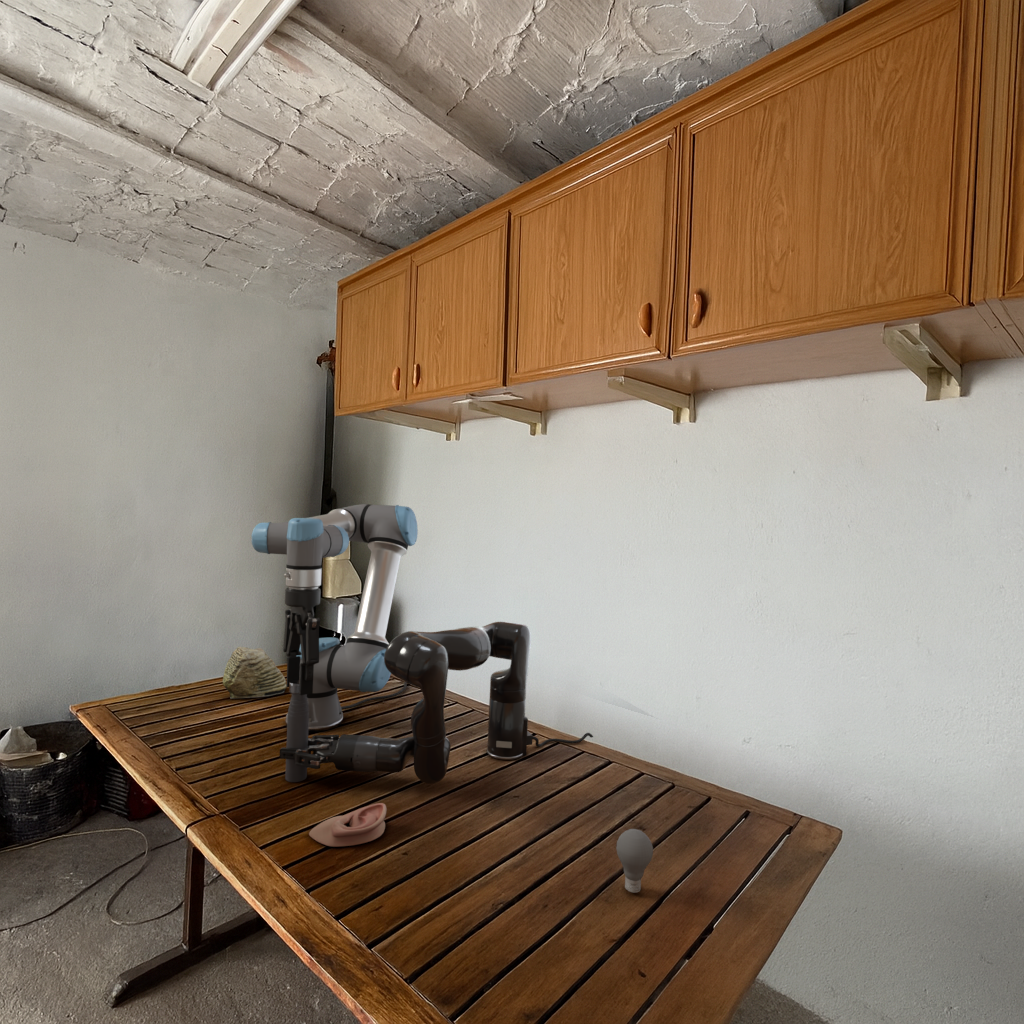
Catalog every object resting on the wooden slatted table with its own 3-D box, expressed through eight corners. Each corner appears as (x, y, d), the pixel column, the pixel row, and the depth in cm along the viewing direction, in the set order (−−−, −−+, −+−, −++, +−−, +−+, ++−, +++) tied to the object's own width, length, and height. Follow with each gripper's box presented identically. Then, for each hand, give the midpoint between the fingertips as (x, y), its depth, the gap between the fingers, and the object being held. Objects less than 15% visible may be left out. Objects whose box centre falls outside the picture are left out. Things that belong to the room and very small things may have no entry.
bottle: (281, 777, 142) (285, 683, 142) (300, 771, 145) (304, 680, 145) (290, 784, 139) (294, 688, 139) (310, 778, 142) (313, 684, 142)
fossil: (218, 695, 195) (220, 647, 195) (278, 685, 208) (279, 640, 207) (228, 703, 189) (230, 653, 188) (289, 692, 201) (290, 645, 201)
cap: (291, 687, 144) (291, 678, 144) (311, 688, 144) (311, 678, 144) (286, 693, 139) (287, 683, 139) (307, 693, 140) (307, 684, 140)
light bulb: (610, 879, 108) (613, 822, 108) (644, 879, 109) (647, 822, 109) (619, 902, 102) (622, 840, 102) (655, 901, 103) (658, 840, 103)
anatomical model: (301, 820, 116) (331, 792, 127) (300, 842, 116) (330, 812, 127) (368, 831, 113) (393, 801, 124) (368, 853, 113) (392, 821, 124)
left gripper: (270, 582, 146) (266, 681, 147) (304, 594, 132) (300, 704, 132) (301, 580, 151) (298, 676, 152) (338, 592, 136) (334, 698, 137)
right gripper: (369, 725, 148) (298, 720, 149) (350, 749, 134) (271, 743, 135) (368, 756, 148) (296, 752, 149) (349, 784, 134) (270, 778, 135)
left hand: (299, 689), depth 142 cm, fingers open, 7 cm apart
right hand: (285, 748), depth 142 cm, fingers closed on bottle, 4 cm apart
